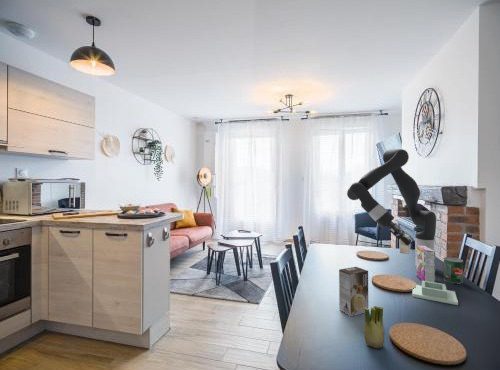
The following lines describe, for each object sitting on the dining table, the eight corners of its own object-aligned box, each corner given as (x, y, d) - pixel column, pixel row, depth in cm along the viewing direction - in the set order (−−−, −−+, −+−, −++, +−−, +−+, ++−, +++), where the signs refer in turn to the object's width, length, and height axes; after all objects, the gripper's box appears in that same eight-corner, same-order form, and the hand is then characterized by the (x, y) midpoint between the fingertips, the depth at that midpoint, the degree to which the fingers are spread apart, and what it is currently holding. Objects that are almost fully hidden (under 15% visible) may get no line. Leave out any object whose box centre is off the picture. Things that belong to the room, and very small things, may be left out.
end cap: (412, 286, 130) (413, 277, 130) (454, 294, 122) (454, 284, 122) (412, 296, 119) (412, 286, 119) (458, 305, 111) (458, 294, 111)
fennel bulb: (364, 348, 83) (364, 308, 83) (363, 339, 87) (363, 301, 87) (385, 352, 81) (385, 311, 80) (383, 343, 85) (384, 304, 85)
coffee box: (356, 305, 111) (356, 266, 111) (368, 312, 105) (369, 270, 105) (338, 309, 107) (338, 269, 107) (350, 317, 101) (350, 274, 101)
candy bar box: (415, 276, 145) (415, 245, 145) (425, 276, 144) (425, 245, 144) (424, 283, 134) (424, 250, 134) (435, 284, 133) (435, 251, 133)
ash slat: (400, 250, 131) (400, 234, 130) (409, 251, 129) (409, 235, 129) (400, 253, 127) (400, 235, 127) (408, 254, 125) (408, 236, 125)
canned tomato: (460, 285, 132) (461, 262, 132) (441, 280, 138) (441, 259, 138) (464, 281, 138) (464, 259, 137) (445, 277, 144) (446, 256, 143)
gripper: (385, 212, 125) (415, 241, 119) (388, 209, 137) (416, 235, 131) (372, 222, 128) (402, 251, 122) (377, 218, 140) (404, 245, 134)
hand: (409, 243), depth 127 cm, fingers closed on ash slat, 4 cm apart
